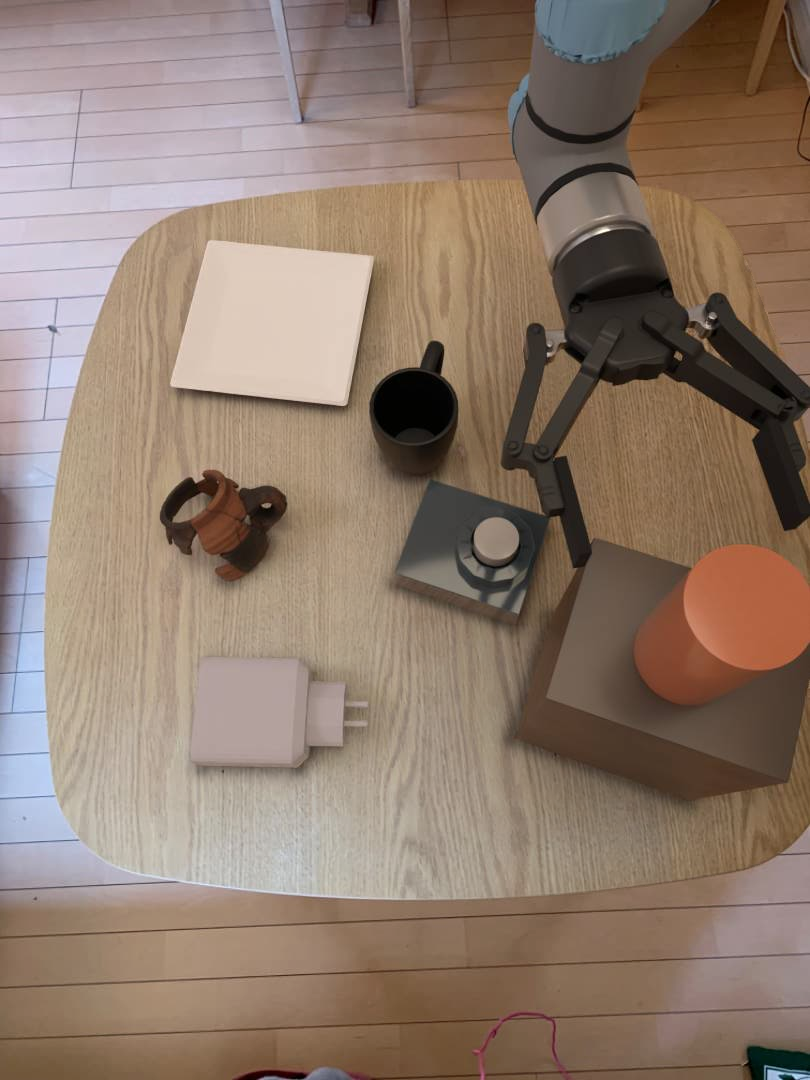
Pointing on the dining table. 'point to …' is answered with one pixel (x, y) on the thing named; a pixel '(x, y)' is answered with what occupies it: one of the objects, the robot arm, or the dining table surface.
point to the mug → (415, 414)
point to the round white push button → (495, 541)
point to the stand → (651, 693)
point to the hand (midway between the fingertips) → (691, 542)
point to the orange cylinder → (724, 625)
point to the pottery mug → (225, 521)
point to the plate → (274, 322)
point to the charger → (265, 712)
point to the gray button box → (468, 553)
